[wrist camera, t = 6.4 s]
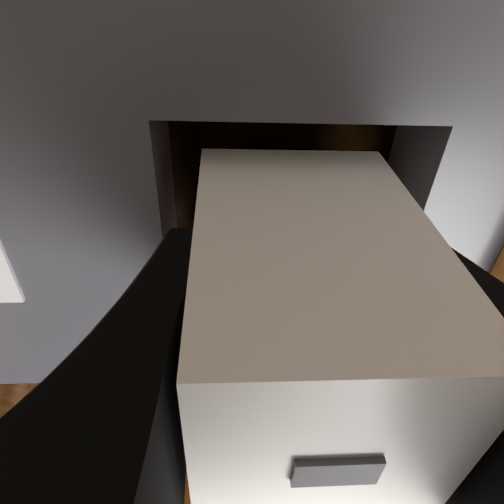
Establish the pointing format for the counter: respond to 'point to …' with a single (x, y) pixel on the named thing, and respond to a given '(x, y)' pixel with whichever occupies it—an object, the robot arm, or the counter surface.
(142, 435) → the robot arm
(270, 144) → the counter surface
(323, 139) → the counter surface
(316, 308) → the block
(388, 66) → the power strip
